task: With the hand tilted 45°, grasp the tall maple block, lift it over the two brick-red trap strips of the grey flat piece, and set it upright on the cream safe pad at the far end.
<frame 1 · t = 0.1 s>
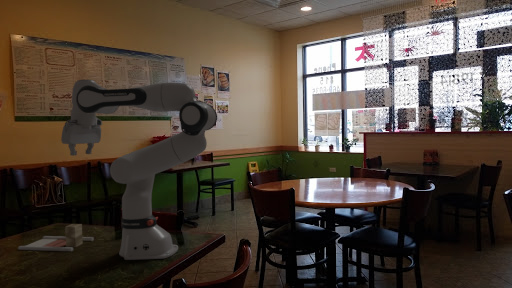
hand: (81, 154, 145), 39 cm above the table, tool pointing down, fingers open, 8 cm apart
maple block: (74, 245, 153), on the table
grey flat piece: (57, 244, 154), on the table
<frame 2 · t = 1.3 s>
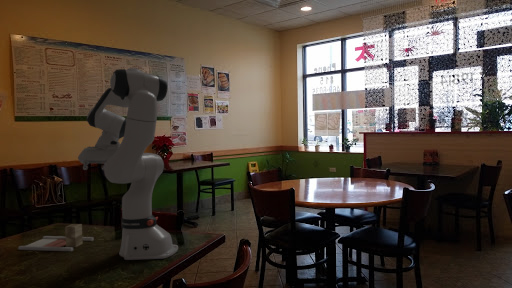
hand: (94, 169, 165), 31 cm above the table, tool tilted 45°, fingers open, 8 cm apart
nothing on the table moved.
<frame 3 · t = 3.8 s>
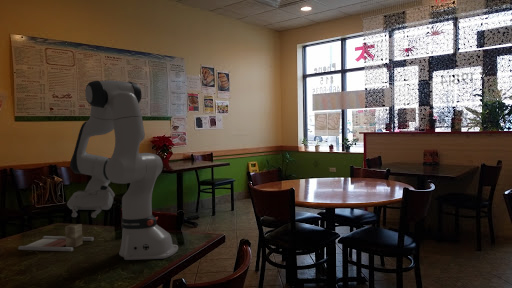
hand: (83, 216, 160), 11 cm above the table, tool tilted 45°, fingers open, 8 cm apart
nothing on the table moved.
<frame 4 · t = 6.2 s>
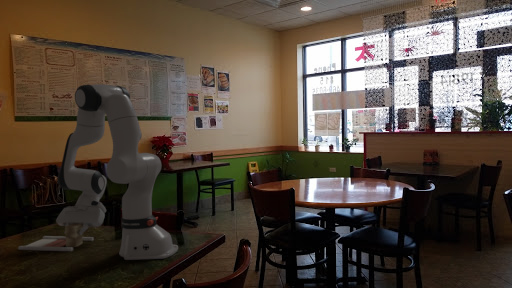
hand: (73, 234, 153), 5 cm above the table, tool tilted 45°, fingers closed on maple block, 4 cm apart
maple block: (74, 245, 153), on the table, touching gripper
everything else where it was.
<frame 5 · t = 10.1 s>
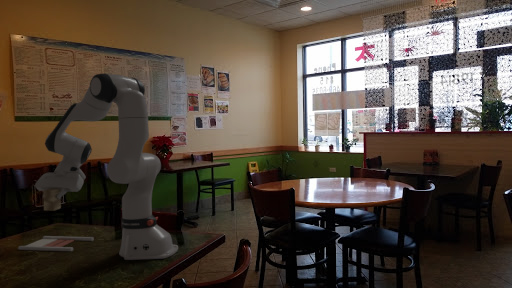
hand: (51, 198, 154), 20 cm above the table, tool tilted 45°, fingers closed on maple block, 4 cm apart
maple block: (52, 209, 155), point 15 cm above the table, touching gripper
everything else where it was.
when the fingers open (6 cm above the table, at t = 14.3 s): maple block drops 1 cm, resting on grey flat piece.
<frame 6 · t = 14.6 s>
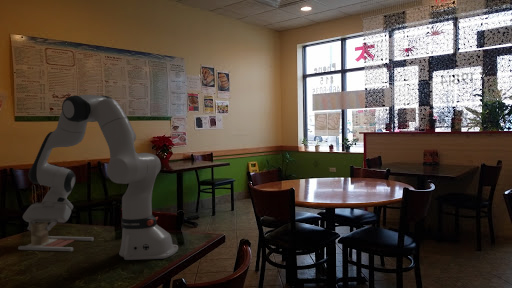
hand: (38, 230, 155), 6 cm above the table, tool tilted 45°, fingers open, 7 cm apart
maple block: (40, 243, 156), resting on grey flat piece
everything else where it was.
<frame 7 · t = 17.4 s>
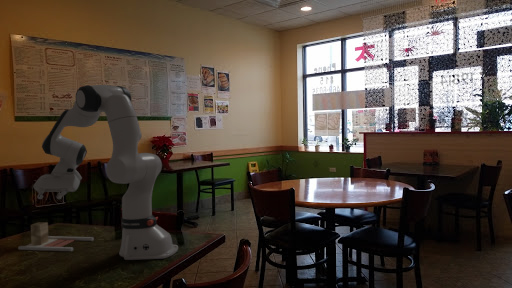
hand: (48, 198, 161), 19 cm above the table, tool tilted 45°, fingers open, 8 cm apart
nothing on the table moved.
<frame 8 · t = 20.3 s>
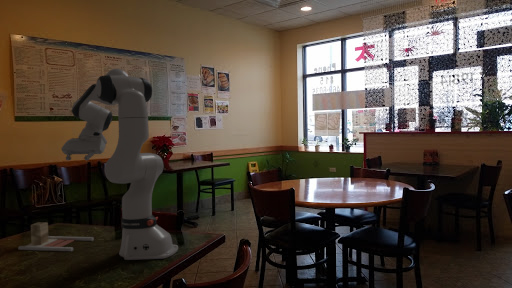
hand: (76, 159, 168), 35 cm above the table, tool tilted 45°, fingers open, 8 cm apart
nothing on the table moved.
at the end: maple block inside the target area on the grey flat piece (0.1 cm from its centre), point 0.4 cm above the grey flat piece's base; maple block tilted 0°; the gripper is holding nothing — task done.
